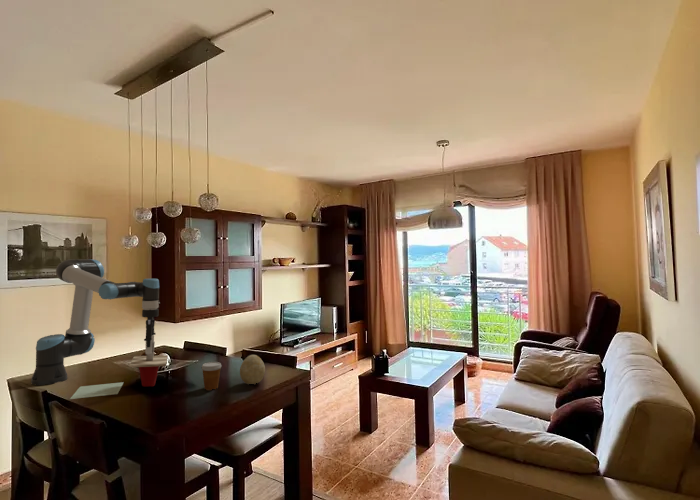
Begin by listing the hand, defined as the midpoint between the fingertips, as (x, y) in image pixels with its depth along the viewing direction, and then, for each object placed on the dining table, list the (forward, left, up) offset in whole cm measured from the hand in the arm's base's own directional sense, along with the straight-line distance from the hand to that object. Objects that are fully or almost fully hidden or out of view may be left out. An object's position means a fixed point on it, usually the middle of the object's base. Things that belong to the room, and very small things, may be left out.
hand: (149, 350), depth 198 cm
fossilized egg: (+17, +49, -18) cm, 55 cm away
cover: (0, 0, -6) cm, 6 cm away
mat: (0, -22, -18) cm, 28 cm away
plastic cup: (0, 0, -18) cm, 18 cm away
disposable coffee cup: (+16, +29, -18) cm, 38 cm away
